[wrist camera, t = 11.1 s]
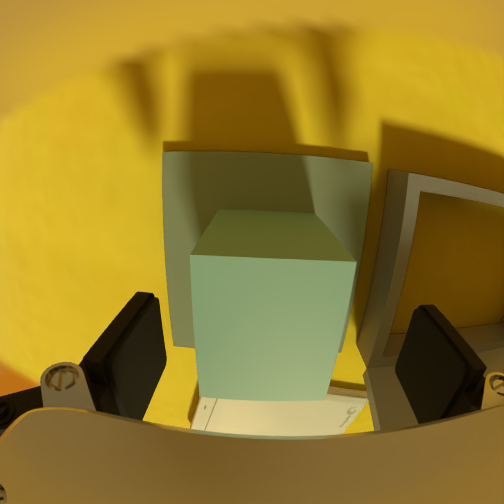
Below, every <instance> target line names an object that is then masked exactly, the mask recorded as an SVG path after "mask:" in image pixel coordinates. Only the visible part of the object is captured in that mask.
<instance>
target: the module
mask: <svg viewBox="0 0 504 504" xmlns="http://www.w3.org/2000/svg"><path fill="white" fill-rule="evenodd" d="M356 263H357V262H356V260H355V259H354V258H353V257H352V256H351V254H350V253H349V252H348V251H347V250H346V248H345V247H344V246H343V245H342V244H341V243H340V241H339V240H338V239H337V238H336V237H335V236H334V234H333V233H332V232H331V231H330V230H329V229H328V227H327V226H326V225H325V224H324V223H323V222H322V221H321V219H320V218H319V217H318V216H317V215H316V214H315V213H299V212H281V211H260V210H236V209H219V210H218V211H217V213H216V215H215V216H214V218H213V219H212V221H211V222H210V224H209V225H208V227H207V228H206V230H205V232H204V233H203V235H202V236H201V238H200V239H199V241H198V243H197V244H196V246H195V247H194V249H193V250H192V252H191V254H190V273H191V294H192V311H193V327H194V340H195V352H196V364H197V375H198V385H199V394H200V397H206V398H217V399H231V400H251V401H316V400H325V398H326V394H327V391H328V388H329V384H330V380H331V377H332V373H333V369H334V366H335V362H336V358H337V354H338V350H339V346H340V342H341V338H342V333H343V329H344V325H345V320H346V315H347V311H348V306H349V301H350V296H351V291H352V286H353V280H354V275H355V269H356Z"/></svg>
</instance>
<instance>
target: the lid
mask: <svg viewBox="0 0 504 504" xmlns="http://www.w3.org/2000/svg"><path fill="white" fill-rule="evenodd" d="M476 354H477V355H478V357H479V358H480V359H481V360H482V362H483V363H484V364H485V365H486V367H487V369H486V371H485V373H484V374H483V376H484V377H485V378H486V376H487V375H488V374H489V373H492V372H500V373H503V374H504V347H502V348H498V349H494V350H489V351H485V352H480V353H476ZM363 378H364V382H365V387H366V391H367V396H368V401H369V405H370V410H371V415H372V420H373V425H374V431H379V430H386V429H393V428H400V427H406V426H412V425H417V424H418V421H417V419H416V417H415V414H414V412H413V410H412V408H411V406H410V403H409V401H408V399H407V397H406V395H405V392H404V390H403V388H402V386H401V384H400V382H399V380H398V378H397V375H396V373H395V366H388V367H377V368H367V369H366V371H365V372H364V374H363Z"/></svg>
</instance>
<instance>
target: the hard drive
mask: <svg viewBox="0 0 504 504" xmlns="http://www.w3.org/2000/svg"><path fill="white" fill-rule="evenodd" d="M367 401H368V396H367V391H361V390H353V389H346V388H339V387H333V386H329V388H328V391H327V394H326V398H325V400H316V401H251V400H231V399H217V398H206V397H199V400H198V403H197V406H196V409H195V413H194V416H193V419H192V422H191V425H190V429H195V430H203V431H211V432H221V433H232V434H245V435H265V436H318V435H337V434H342V433H343V432H344V431H345V429H346V428H347V427H348V426H349V425H350V423H351V422H352V421H353V420H354V419H355V417H356V416H357V415H358V414H359V412H360V411H361V410H362V408H363V407H364V406H365V405H366V403H367Z"/></svg>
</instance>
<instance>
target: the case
mask: <svg viewBox="0 0 504 504" xmlns="http://www.w3.org/2000/svg"><path fill="white" fill-rule="evenodd" d="M420 191H424V192H430V193H436V194H442V195H447V196H453V197H458V198H463V199H468V200H473V201H478V202H483V203H488V204H492V205H497V206H501V207H504V193H501V192H497V191H493V190H490V189H486V188H482V187H478V186H474V185H470V184H465V183H461V182H456V181H452V180H447V179H442V178H438V177H432V176H427V175H422V174H417V173H411V172H405V171H399V170H393V169H388V177H387V187H386V196H385V204H384V212H383V220H382V226H381V233H380V239H379V246H378V251H377V257H376V262H375V268H374V273H373V278H372V283H371V288H370V292H369V297H368V301H367V306H366V310H365V314H364V318H363V322H362V326H361V330H360V334H359V338H358V341H357V347H358V349H359V352H360V354H361V356H362V358H363V361H364V363H365V365H366V368H377V367H388V366H395V365H396V362H397V359H398V357H399V354H400V351H401V348H402V346H403V343H404V340H405V337H406V334H407V333H401V334H390V331H391V327H392V324H393V321H394V317H395V314H396V310H397V307H398V303H399V299H400V295H401V291H402V287H403V283H404V279H405V275H406V271H407V266H408V261H409V257H410V252H411V247H412V241H413V236H414V230H415V224H416V218H417V211H418V204H419V197H420ZM456 330H457V331H458V333H459V334H460V335H461V336H462V337H463V338H464V340H465V341H466V342H467V343H468V344H469V346H470V347H471V348H472V349H473V350H474V352H475V353H480V352H485V351H489V350H494V349H498V348H502V347H504V316H503V318H502V321H501V323H495V324H488V325H481V326H474V327H466V328H457V329H456Z"/></svg>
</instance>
